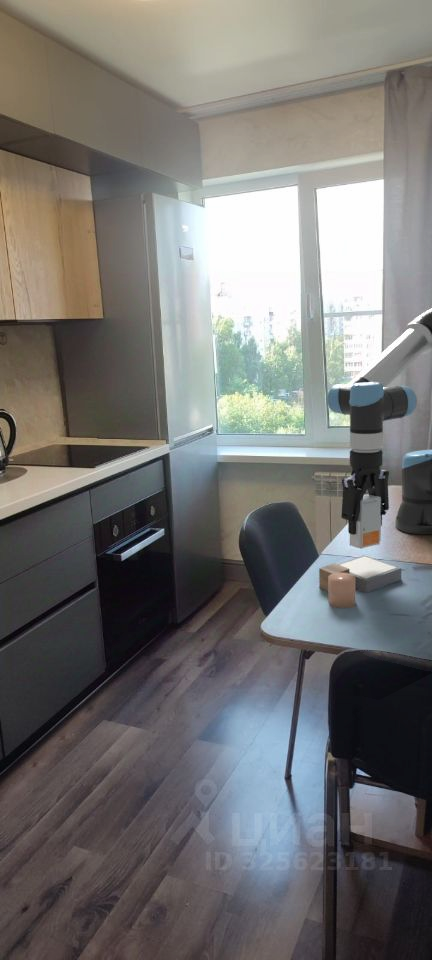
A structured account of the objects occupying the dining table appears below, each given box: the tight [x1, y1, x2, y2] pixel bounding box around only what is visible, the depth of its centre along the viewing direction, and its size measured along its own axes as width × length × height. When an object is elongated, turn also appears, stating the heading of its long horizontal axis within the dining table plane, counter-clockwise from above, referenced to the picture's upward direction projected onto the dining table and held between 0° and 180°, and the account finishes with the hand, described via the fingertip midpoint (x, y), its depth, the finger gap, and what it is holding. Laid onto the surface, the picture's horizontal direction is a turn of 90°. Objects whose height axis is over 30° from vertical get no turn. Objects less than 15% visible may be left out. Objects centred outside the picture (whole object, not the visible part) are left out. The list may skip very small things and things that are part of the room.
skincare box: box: [353, 493, 381, 550], centre depth 161 cm, size 6×4×12 cm
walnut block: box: [318, 563, 350, 592], centre depth 160 cm, size 5×5×5 cm
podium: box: [337, 554, 402, 594], centre depth 164 cm, size 12×12×3 cm
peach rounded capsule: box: [327, 573, 356, 609], centre depth 152 cm, size 6×6×6 cm
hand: (365, 542), depth 163 cm, fingers closed on skincare box, 6 cm apart
